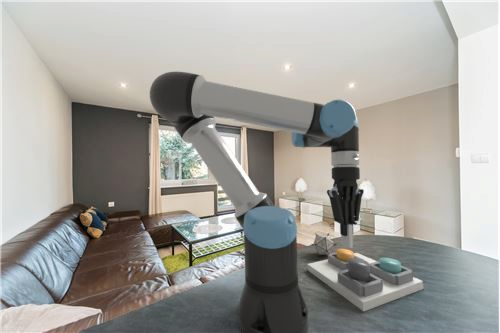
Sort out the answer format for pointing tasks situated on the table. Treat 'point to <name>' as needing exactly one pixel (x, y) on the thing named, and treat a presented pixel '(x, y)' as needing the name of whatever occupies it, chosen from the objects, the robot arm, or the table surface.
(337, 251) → the orange button
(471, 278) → the table surface
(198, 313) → the table surface
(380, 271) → the panel
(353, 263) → the charcoal button
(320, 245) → the grey spiky polyhedron
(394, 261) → the teal button
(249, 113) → the robot arm
